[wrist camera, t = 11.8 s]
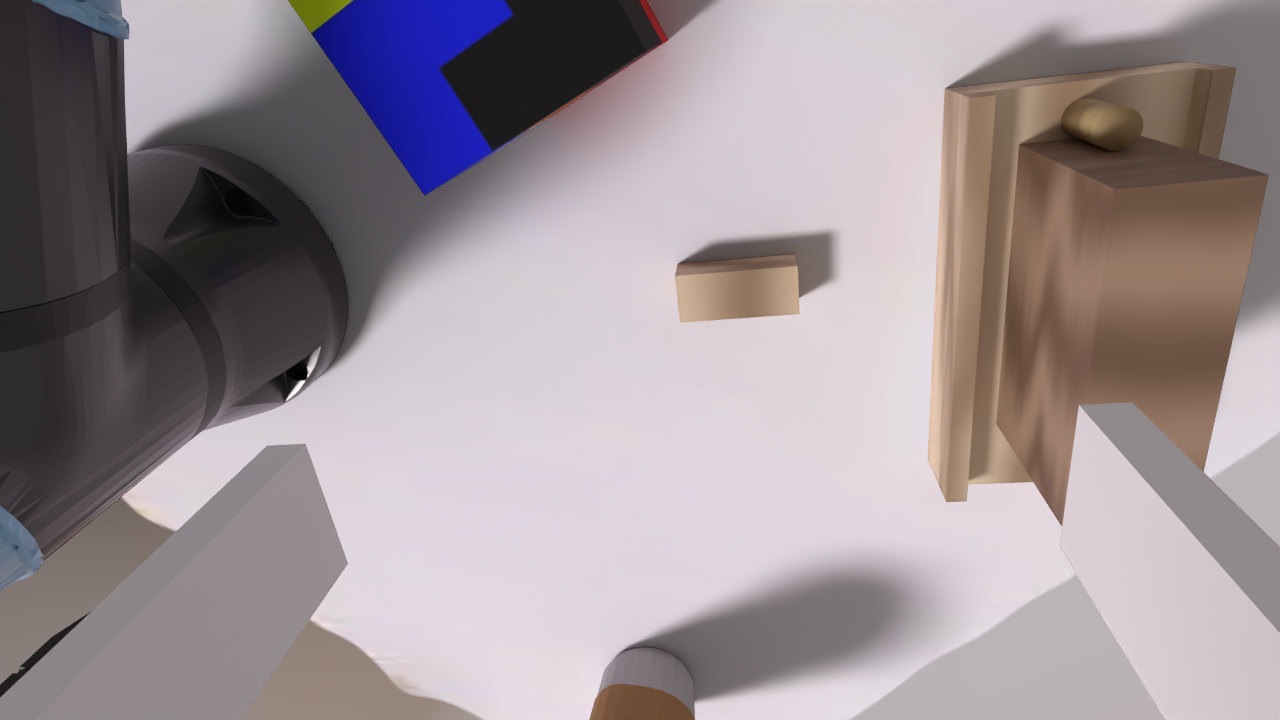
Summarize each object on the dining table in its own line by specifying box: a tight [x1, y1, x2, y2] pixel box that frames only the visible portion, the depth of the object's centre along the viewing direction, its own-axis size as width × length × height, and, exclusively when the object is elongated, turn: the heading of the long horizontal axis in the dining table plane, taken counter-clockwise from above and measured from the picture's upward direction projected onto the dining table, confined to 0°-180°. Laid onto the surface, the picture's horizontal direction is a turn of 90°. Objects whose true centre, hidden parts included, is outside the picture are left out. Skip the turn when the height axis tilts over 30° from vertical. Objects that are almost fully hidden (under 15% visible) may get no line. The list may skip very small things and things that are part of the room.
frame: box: [996, 135, 1268, 526], centre depth 31 cm, size 14×4×9 cm, turn 7°
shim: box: [675, 254, 799, 322], centre depth 38 cm, size 6×2×2 cm, turn 97°
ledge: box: [928, 62, 1236, 502], centre depth 35 cm, size 10×20×6 cm, turn 7°
